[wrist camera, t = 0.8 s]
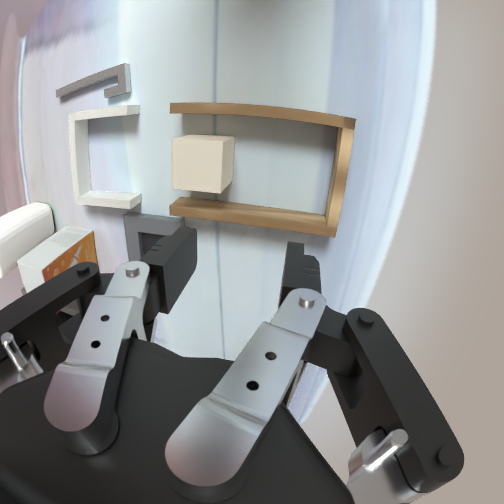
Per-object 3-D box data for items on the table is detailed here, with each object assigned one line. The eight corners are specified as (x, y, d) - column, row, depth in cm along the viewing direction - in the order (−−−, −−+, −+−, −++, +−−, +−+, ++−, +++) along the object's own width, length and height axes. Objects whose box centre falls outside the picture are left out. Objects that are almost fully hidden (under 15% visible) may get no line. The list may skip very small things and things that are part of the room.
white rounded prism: (55, 199, 40) (-9, 237, 27) (60, 238, 44) (5, 281, 31) (31, 196, 41) (-28, 230, 28) (37, 232, 44) (-16, 270, 31)
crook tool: (61, 90, 31) (56, 90, 30) (129, 64, 29) (124, 63, 28) (63, 113, 33) (57, 114, 32) (131, 91, 31) (126, 91, 29)
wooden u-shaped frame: (182, 102, 31) (170, 103, 28) (350, 118, 29) (355, 118, 26) (180, 205, 37) (169, 215, 34) (332, 225, 35) (335, 237, 32)
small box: (100, 271, 45) (55, 317, 34) (74, 264, 46) (29, 305, 34) (94, 229, 41) (41, 270, 30) (67, 223, 42) (15, 260, 30)
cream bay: (82, 111, 32) (68, 113, 30) (139, 104, 31) (127, 105, 29) (87, 197, 39) (75, 203, 36) (141, 201, 38) (130, 209, 35)
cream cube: (190, 134, 33) (172, 139, 28) (235, 136, 32) (223, 141, 27) (189, 177, 35) (172, 188, 30) (232, 180, 35) (220, 193, 30)
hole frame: (127, 212, 39) (123, 215, 38) (184, 218, 38) (180, 222, 37) (133, 265, 43) (130, 269, 42) (186, 275, 42) (183, 279, 41)
